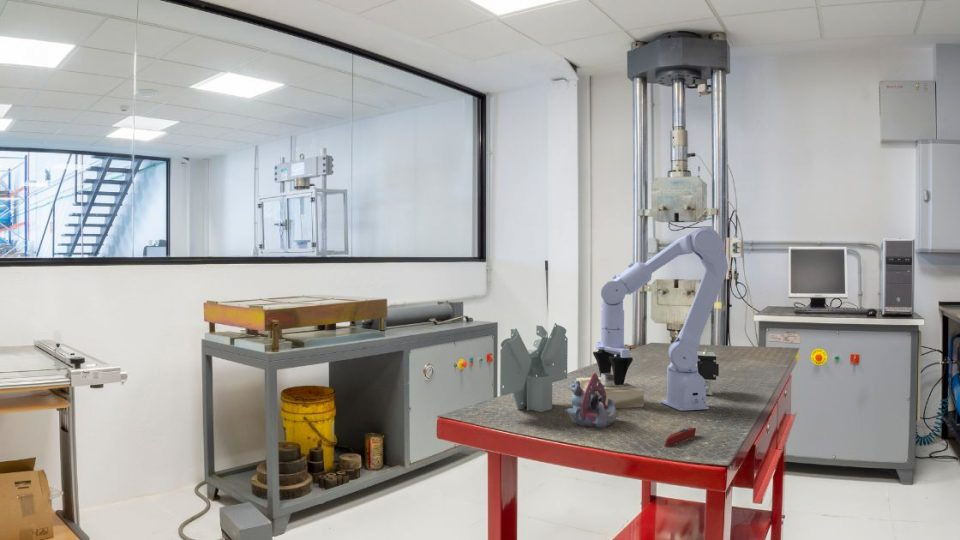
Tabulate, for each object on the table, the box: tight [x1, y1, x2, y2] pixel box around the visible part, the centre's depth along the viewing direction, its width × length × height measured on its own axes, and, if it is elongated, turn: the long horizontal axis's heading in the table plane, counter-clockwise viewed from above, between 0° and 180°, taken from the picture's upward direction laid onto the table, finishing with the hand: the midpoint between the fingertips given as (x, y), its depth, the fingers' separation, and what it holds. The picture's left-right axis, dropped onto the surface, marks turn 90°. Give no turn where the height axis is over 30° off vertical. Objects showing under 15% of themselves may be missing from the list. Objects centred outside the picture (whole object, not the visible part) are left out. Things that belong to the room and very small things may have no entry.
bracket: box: [499, 322, 569, 413], centre depth 148 cm, size 28×7×20 cm, turn 139°
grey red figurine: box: [564, 372, 618, 428], centre depth 136 cm, size 11×11×12 cm
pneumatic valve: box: [695, 348, 720, 396], centre depth 164 cm, size 6×12×12 cm, turn 163°
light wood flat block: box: [575, 376, 645, 409], centre depth 157 cm, size 18×10×4 cm, turn 14°
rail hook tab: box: [600, 372, 624, 387], centre depth 155 cm, size 2×5×7 cm, turn 102°
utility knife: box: [664, 427, 697, 448], centre depth 122 cm, size 12×1×2 cm, turn 133°
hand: (611, 381), depth 155 cm, fingers open, 7 cm apart
